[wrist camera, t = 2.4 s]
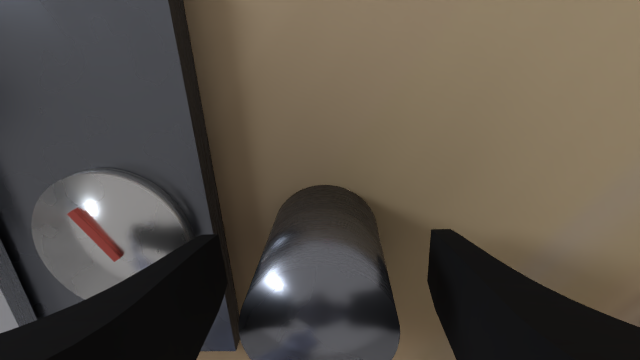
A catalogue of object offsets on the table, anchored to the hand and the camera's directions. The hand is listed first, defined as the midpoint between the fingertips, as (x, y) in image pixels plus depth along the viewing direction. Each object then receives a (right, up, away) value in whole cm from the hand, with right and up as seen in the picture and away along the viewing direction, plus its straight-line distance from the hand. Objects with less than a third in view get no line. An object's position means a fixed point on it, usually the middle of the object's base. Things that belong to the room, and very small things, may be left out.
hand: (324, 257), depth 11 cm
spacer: (0, +1, +2) cm, 2 cm away
